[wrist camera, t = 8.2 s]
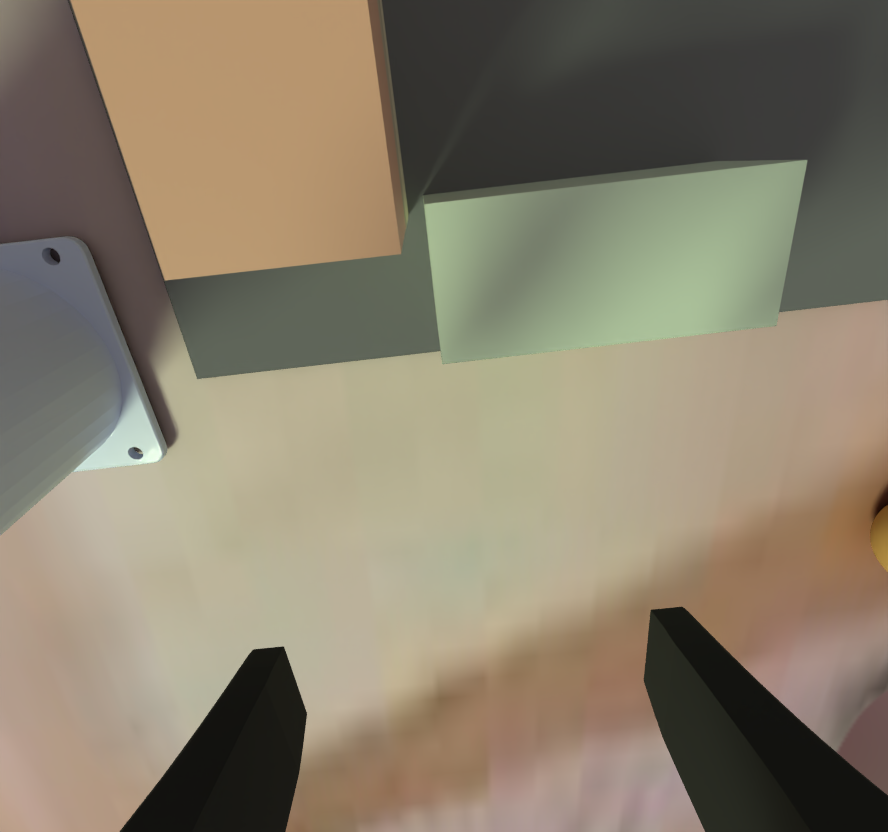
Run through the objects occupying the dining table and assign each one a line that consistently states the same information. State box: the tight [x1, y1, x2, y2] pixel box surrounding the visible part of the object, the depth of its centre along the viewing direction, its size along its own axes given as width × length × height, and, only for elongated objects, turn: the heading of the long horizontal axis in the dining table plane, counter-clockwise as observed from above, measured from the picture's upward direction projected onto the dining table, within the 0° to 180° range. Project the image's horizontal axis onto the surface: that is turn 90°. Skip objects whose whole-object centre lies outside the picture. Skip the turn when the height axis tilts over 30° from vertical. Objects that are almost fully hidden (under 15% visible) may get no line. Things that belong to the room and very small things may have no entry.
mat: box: [68, 0, 888, 379], centre depth 14 cm, size 26×18×1 cm
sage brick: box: [423, 160, 807, 364], centre depth 15 cm, size 9×4×4 cm, turn 96°
